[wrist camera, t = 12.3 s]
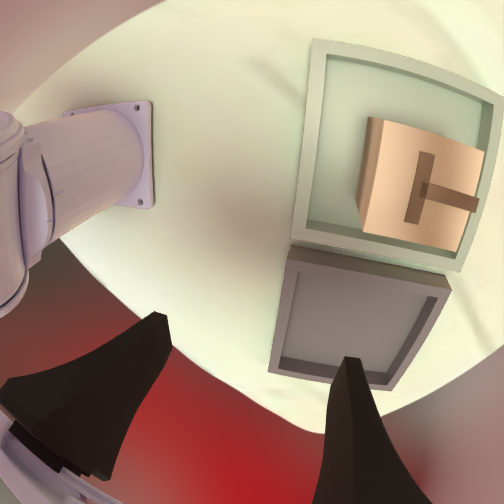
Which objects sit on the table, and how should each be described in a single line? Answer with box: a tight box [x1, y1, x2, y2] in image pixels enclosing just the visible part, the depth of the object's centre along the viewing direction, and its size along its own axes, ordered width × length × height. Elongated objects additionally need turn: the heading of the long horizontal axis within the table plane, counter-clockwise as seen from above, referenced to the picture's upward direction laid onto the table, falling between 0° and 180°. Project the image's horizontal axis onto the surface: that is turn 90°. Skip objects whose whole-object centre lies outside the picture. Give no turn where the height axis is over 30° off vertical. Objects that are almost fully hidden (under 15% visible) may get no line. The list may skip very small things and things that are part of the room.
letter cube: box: [355, 117, 484, 252], centre depth 12 cm, size 5×5×5 cm
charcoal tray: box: [268, 246, 452, 391], centre depth 20 cm, size 12×12×2 cm
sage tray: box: [290, 38, 504, 272], centre depth 14 cm, size 12×12×2 cm
